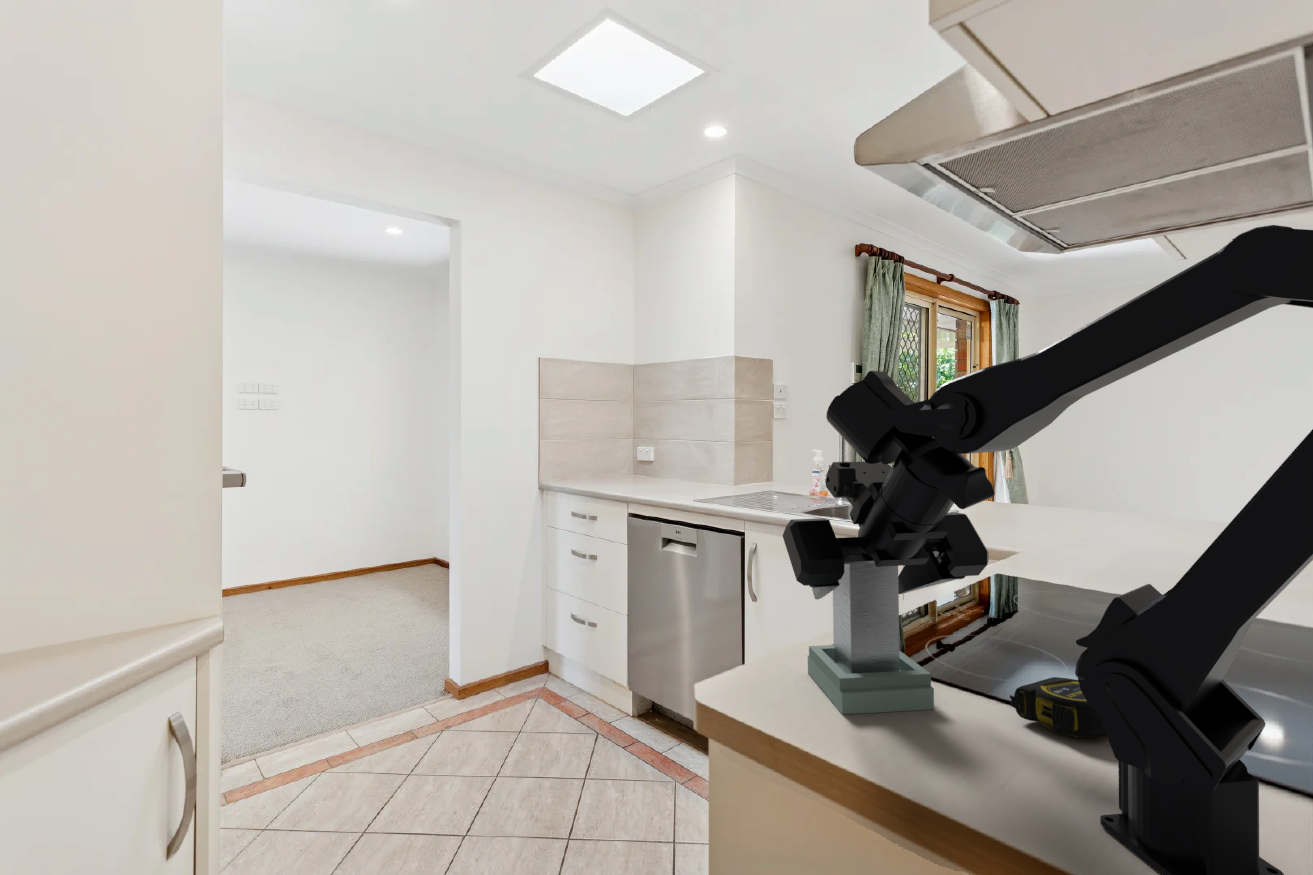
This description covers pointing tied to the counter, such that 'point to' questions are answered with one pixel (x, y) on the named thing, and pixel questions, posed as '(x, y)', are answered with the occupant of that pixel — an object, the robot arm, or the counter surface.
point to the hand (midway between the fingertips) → (856, 592)
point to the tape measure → (1058, 707)
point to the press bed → (871, 685)
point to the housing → (867, 619)
